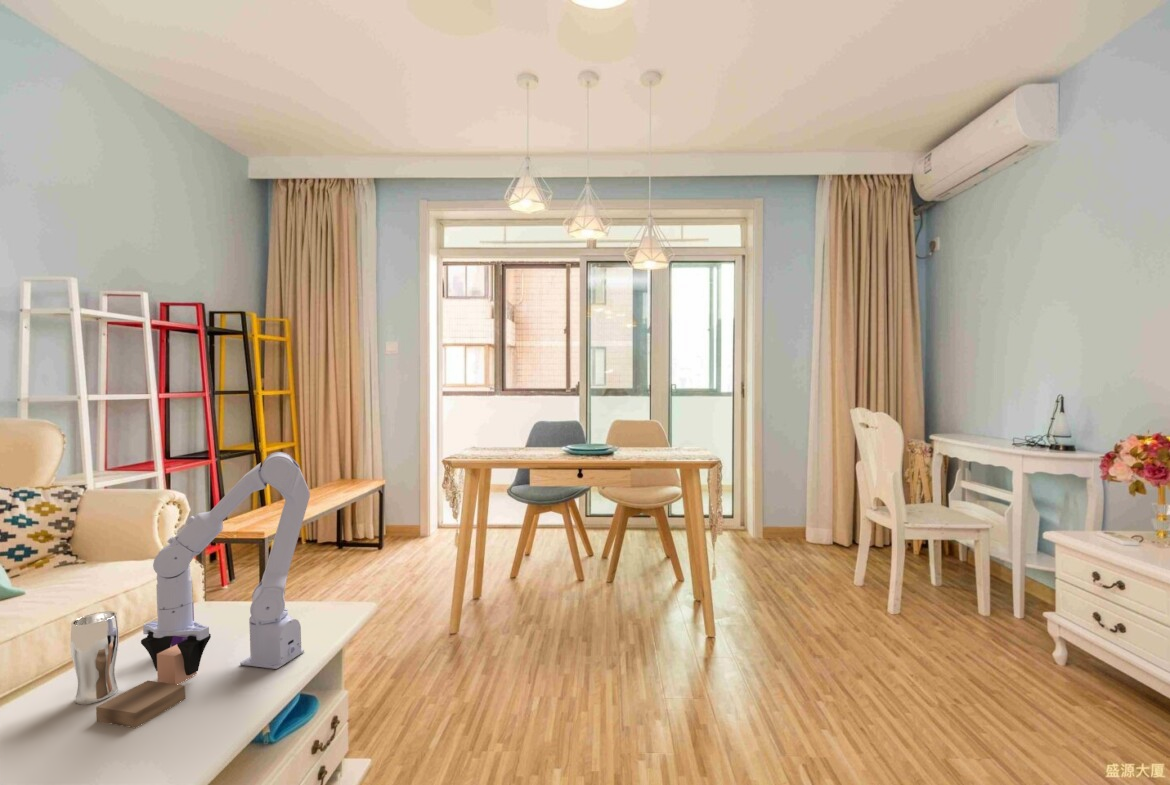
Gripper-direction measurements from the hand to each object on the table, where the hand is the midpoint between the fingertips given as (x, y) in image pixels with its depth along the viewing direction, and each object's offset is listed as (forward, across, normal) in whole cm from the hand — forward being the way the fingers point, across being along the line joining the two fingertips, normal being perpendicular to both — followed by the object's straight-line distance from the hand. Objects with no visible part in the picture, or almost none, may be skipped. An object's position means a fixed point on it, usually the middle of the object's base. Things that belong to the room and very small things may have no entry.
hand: (177, 671), depth 112 cm
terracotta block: (+2, 0, 0) cm, 2 cm away
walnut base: (+2, +4, -10) cm, 11 cm away
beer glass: (+2, -10, -8) cm, 13 cm away
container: (+2, -12, +11) cm, 16 cm away
